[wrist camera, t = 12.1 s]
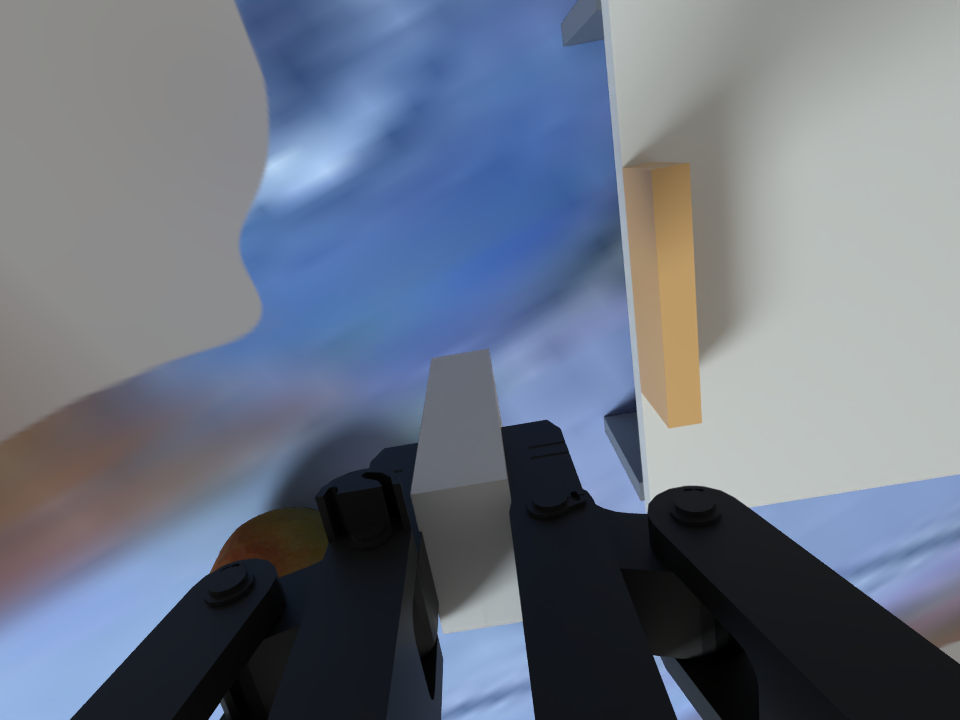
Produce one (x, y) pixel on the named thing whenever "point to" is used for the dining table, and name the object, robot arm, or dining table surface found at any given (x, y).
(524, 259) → the dining table surface
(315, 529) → the fruit
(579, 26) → the housing
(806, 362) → the lid
